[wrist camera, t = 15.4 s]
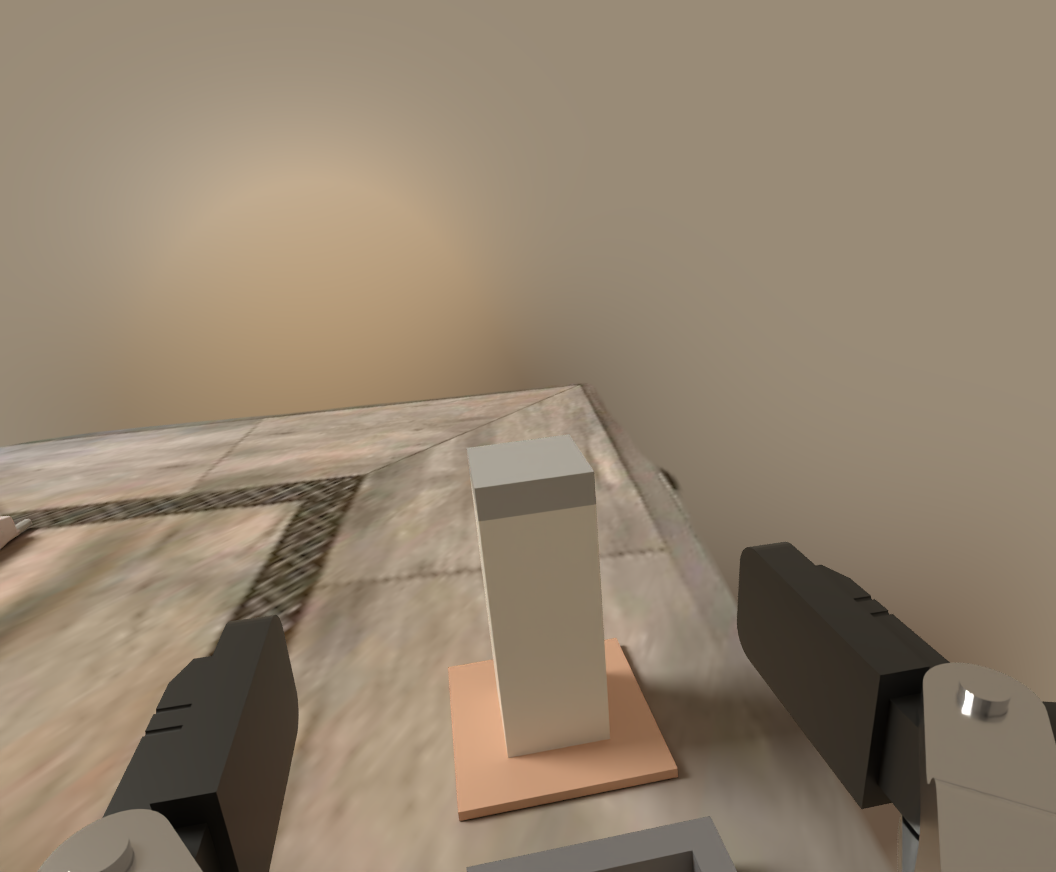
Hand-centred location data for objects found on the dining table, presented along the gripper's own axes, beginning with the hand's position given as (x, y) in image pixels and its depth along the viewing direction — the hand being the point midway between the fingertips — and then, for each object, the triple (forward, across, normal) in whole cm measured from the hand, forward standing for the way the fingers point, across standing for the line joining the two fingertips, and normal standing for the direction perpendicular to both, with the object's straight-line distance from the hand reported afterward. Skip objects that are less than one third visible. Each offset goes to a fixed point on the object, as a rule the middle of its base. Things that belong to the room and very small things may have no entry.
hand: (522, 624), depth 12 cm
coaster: (+18, -3, +19) cm, 26 cm away
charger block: (+18, -3, +18) cm, 26 cm away
